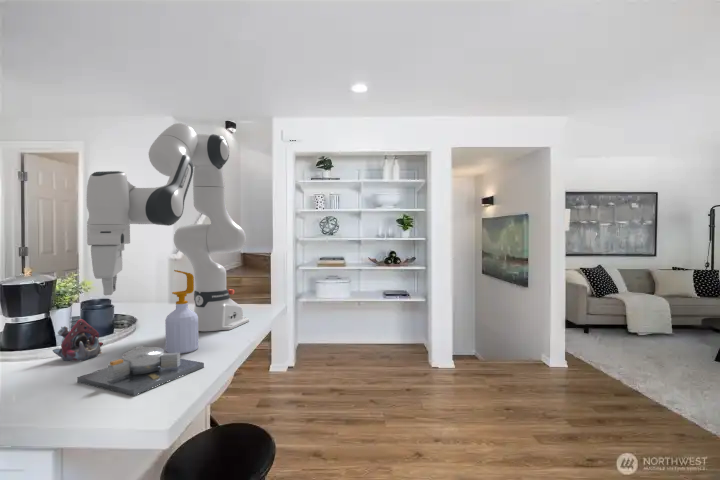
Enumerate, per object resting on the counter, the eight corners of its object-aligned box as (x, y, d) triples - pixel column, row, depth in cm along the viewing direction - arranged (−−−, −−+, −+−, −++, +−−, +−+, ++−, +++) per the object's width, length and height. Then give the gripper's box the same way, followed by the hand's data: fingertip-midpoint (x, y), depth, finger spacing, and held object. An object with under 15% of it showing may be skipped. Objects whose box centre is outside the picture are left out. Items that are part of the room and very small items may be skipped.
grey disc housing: (141, 358, 107) (140, 343, 107) (183, 365, 100) (182, 350, 100) (89, 374, 94) (89, 358, 94) (133, 384, 88) (133, 367, 88)
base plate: (151, 357, 112) (151, 352, 112) (203, 367, 104) (203, 362, 104) (77, 382, 94) (77, 376, 94) (133, 396, 86) (133, 389, 86)
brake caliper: (81, 356, 106) (59, 320, 107) (56, 378, 108) (35, 342, 109) (116, 345, 117) (96, 312, 118) (93, 364, 119) (74, 332, 120)
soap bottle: (161, 350, 119) (160, 270, 119) (190, 343, 126) (189, 267, 125) (173, 356, 113) (171, 272, 113) (203, 349, 120) (202, 269, 119)
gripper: (100, 236, 103) (101, 288, 103) (85, 237, 85) (86, 300, 85) (128, 236, 106) (128, 287, 106) (119, 237, 87) (120, 298, 88)
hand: (110, 293), depth 95 cm, fingers open, 4 cm apart
